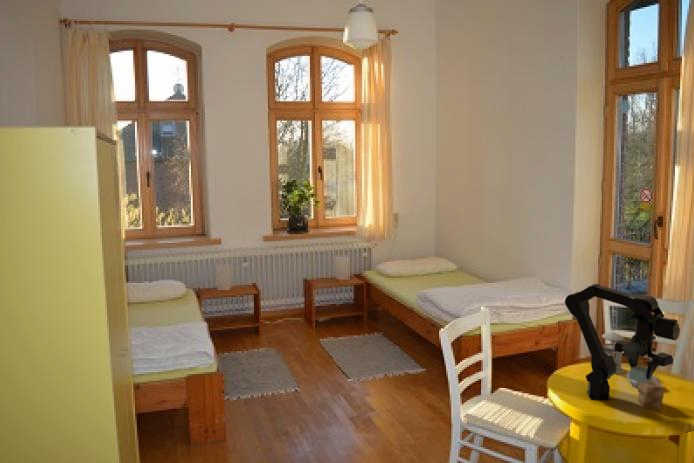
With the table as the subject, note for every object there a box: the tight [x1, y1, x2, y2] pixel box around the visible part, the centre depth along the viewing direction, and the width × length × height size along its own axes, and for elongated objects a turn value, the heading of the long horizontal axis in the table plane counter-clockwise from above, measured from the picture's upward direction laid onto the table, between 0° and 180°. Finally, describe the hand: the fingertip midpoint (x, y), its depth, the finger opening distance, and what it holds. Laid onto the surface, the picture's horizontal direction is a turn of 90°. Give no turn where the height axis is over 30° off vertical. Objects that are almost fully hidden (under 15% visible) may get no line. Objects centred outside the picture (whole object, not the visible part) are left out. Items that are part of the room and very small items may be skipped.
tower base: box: [637, 392, 664, 410], centre depth 221 cm, size 6×6×4 cm
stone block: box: [625, 371, 661, 390], centre depth 239 cm, size 12×5×10 cm
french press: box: [601, 309, 625, 375], centre depth 251 cm, size 10×12×25 cm
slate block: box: [629, 364, 653, 383], centre depth 215 cm, size 5×5×4 cm
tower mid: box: [637, 381, 665, 399], centre depth 220 cm, size 6×6×4 cm
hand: (641, 376), depth 215 cm, fingers closed on slate block, 5 cm apart
